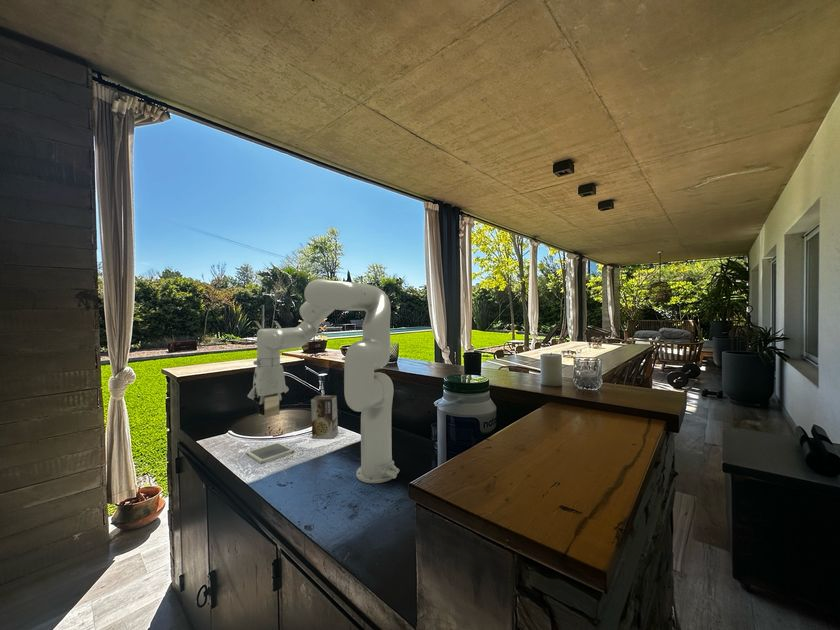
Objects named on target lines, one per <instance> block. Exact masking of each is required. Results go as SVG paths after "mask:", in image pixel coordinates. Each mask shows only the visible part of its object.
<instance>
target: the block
mask: <svg viewBox="0 0 840 630" xmlns="http://www.w3.org/2000/svg"><path fill="white" fill-rule="evenodd" d="M263 404H264V415H260V414H259V413H258V415H259V416H261V417H262V418H264V419H265V418H271V417H274V416H278V415H280V411H279V395H277V394H273V395H267V396H264V400H263Z"/></svg>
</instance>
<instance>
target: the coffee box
mask: <svg viewBox="0 0 840 630" xmlns="http://www.w3.org/2000/svg"><path fill="white" fill-rule="evenodd" d="M310 406H311V409H310V410H311V438H312V439H334V438H335V437H336V436H338V434H339V429H338V428H339V424H338V423H339V421H338V415H339V414H338V395H336V394H335V395H331V394H330V395H328V394H327V395H316V396H314V397H313V398H311V399H310Z"/></svg>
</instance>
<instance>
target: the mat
mask: <svg viewBox="0 0 840 630" xmlns="http://www.w3.org/2000/svg"><path fill="white" fill-rule="evenodd" d="M294 453H295V449H294V448H291V447H289V446H288V445H285V444H283V443H282V442H280V441H277V442H273V443H271V444H267V445H264V446H263V445H262V446H261V447H257V448H253V449H250V450H247V451H246V452H245V455H246V456H248V457H249V456H250V458H251V459H253V460H255V461H256V462H257V461H258V463H259V464H261V463H262V464H264V462H265V463H267V461H268V462H270V460H271V461H273V459H274V460H277V459H279V458H282V457H285V456H288V455H291V454H294ZM276 458H277V459H276Z"/></svg>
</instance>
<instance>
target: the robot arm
mask: <svg viewBox="0 0 840 630" xmlns="http://www.w3.org/2000/svg"><path fill="white" fill-rule="evenodd" d="M303 296H304V299H305V302H303V304H301V306H300V307H299V315H300V317H301V318H302V320H303V321H301V322H300V324H298V325H297V326H295V327H285V328H284V327H283V328H260V329H258V331H257V332H256V357H257V358H256V360H254V361H253V365H254V366H256V367H255V368H254V374H253V382H252V388H251V390H250V391H249V393H248V394H247V398H249V399H251V400H253V402H255V403H256V404H257V413H258V415H259V414H260V415H264V404H263V400H264V396H267V395H273V394H277V395H279V412H280V411H281V410H280V409H281V408H282V407H281V404H282V403H281V401H282V400H283V397H285V394H286V393H287V392H289V390H290V389H289V387H288V386H287V385H286V379H285V378H286V377H285V372H284V366H283V365H282V364H281V351H284V350H290V349H299V348H301V347H303V346H305V345H306V344H307V343H308V342H310V341H311V340H312V339H313V338H315V336H316V335H317V334H318V331H319V328H320V325H321V323H322V322H323V321H324V320H325V319H326V318H328V316H330V315H331V314H332V313H333V312H334V311H336V310H339V311H364V312H365V316H364V319H363V321H362V337H361V338H362V339H361V340H358V341H357V340H356V341H355V342H353V343H352V344H350V346H349V347H348V349H346V351H345V352H346V353H345V355H344V368H343V369H344V373H343V378H344V379H343V384H344V385H343V386H344V387H343V389H344V390H343V391H344V392H343V393H344V399H345V402H346V405H347V406H348V408H350V409H351V410H352V411H354V412H361V414H360V462H361V463H360V464H361V466H359V468H357V469H356V472H355V473H356V478H357V479H358V480H359V481H360V482H363V483H366V484H382V483H385V482H388V481H391V480H393V479H396V478H397V476H398V474H399V472H400V469H399V468H398V467H396V465H395V460H393V455H392V452H393V451H392V448H393V447H392V441H393V440H392V412H393V411H392V408H393V398H394V384H393V383H394V382H393V381H392V379H391V378H390V376H388V375H387V374H386V373H383V372H379V371H378V372H377V371H376V370H379V369H382V368H384V367H385V366H387V365H388V364H389V362H390V357H391V314H392V313H391V312H392V311H391V301H390V299H389V297H388V295H387V294H386V292H384V290H382V289H381V288H379V287H377V286H375V285H373V284H367V283H362V282H361V283H359V282H353V281H352V282H351V281H341V280H328V279H320V278H317V279H314V280H311V281H309V283H308V284H307V285H306V287H305V288H304V295H303ZM375 371H376V372H375ZM255 395H257V396H255ZM260 415H259V416H260Z"/></svg>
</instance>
